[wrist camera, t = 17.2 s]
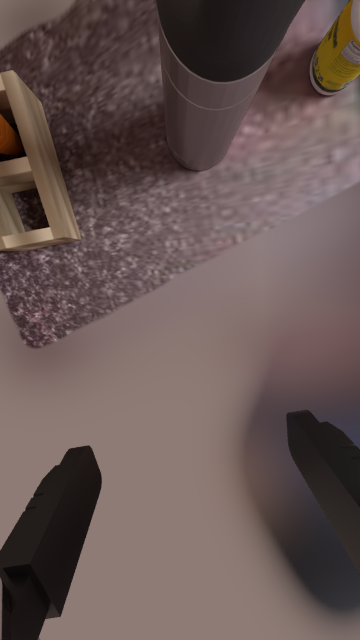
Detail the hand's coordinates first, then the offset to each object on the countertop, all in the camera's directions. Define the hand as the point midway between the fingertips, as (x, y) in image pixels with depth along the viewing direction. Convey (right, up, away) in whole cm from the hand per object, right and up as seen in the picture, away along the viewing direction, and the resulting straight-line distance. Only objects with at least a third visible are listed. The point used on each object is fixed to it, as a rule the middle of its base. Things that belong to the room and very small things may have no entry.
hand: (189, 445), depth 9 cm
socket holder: (-22, +25, +24) cm, 41 cm away
